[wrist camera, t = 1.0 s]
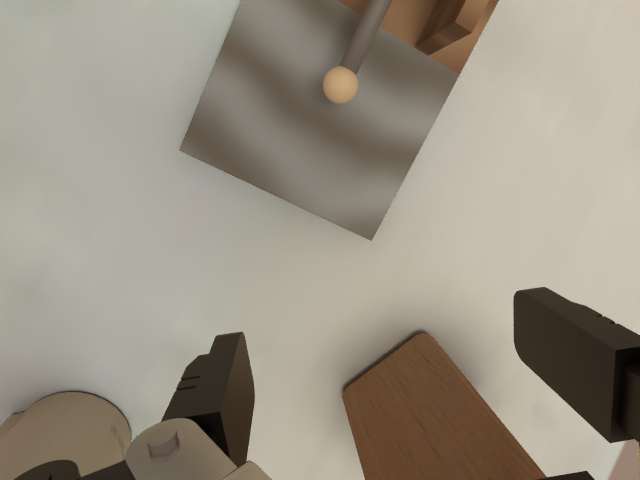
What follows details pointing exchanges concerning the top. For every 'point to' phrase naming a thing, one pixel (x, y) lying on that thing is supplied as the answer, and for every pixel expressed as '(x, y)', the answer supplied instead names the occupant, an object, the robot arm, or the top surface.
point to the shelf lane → (324, 115)
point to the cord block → (355, 55)
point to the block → (429, 422)
